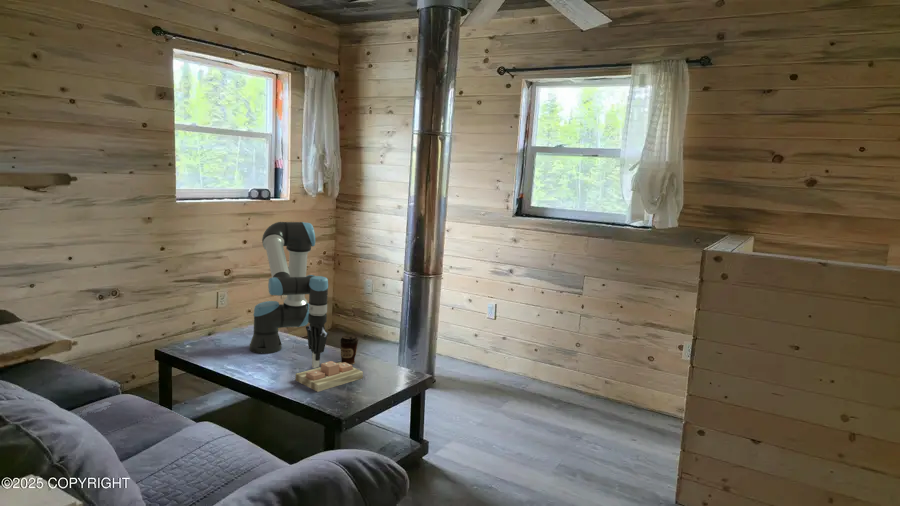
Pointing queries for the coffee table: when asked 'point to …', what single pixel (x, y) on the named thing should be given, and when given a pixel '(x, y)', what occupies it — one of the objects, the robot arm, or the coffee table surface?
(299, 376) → the board
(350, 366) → the tile three pips
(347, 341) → the coffee cup
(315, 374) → the tile one pip
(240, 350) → the coffee table surface
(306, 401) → the coffee table surface
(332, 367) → the tile two pips
